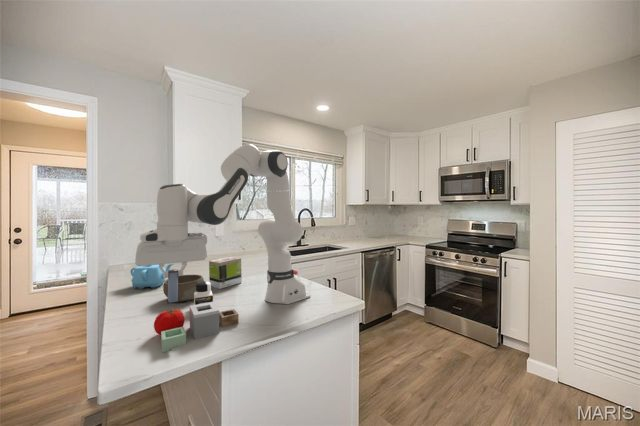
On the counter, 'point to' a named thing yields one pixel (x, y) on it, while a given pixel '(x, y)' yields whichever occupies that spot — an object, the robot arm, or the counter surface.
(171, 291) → the grey rod
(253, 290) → the counter surface
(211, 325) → the grey hollow block
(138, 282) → the teapot
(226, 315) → the holder
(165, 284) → the bowl
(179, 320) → the tomato
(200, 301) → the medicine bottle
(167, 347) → the rest socket
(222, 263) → the tea box
